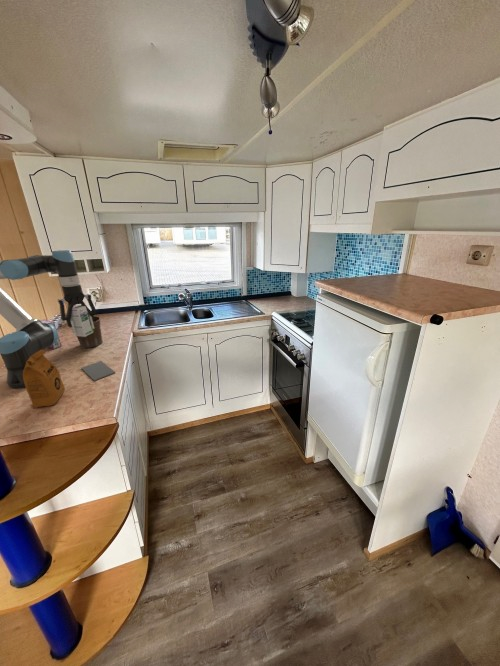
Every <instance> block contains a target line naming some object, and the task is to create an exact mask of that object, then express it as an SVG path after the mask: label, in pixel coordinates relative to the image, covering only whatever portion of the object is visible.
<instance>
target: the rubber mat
mask: <svg viewBox="0 0 500 666" xmlns="http://www.w3.org/2000/svg"><path fill="white" fill-rule="evenodd" d="M81 370H82V371H83V372H84V373H85V374H86V375H87V376H88V377H89V378H91V380H93V381H94V382H96V381H98V379H99V380H101V379H103V377H104V378H106V377H109V376H111V374H112V375H114V374H116V371H114V369H112V368H111V367H110V366H109V365H107V364H106V363H104V361H102V360H100V361H96V362H94V363H91V364H89V365H86V366H83V367H81ZM108 375H109V376H108ZM100 378H101V379H100Z"/></svg>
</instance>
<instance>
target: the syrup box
mask: <svg viewBox="0 0 500 666" xmlns="http://www.w3.org/2000/svg"><path fill="white" fill-rule="evenodd" d="M86 306H87V305H86ZM86 306H82V305H81V304H76V305H73V308H72V314H71V319H70V320H72V321H73V324H74V328H75V331H76V333H75V336H76V337H77V336H82V337H86V336H87V335H89V334H91V333H93V332H94V331H93V328H92V324H91V321H90V317H89V313H88V311H87V309H86Z"/></svg>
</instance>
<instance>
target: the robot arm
mask: <svg viewBox="0 0 500 666" xmlns="http://www.w3.org/2000/svg"><path fill="white" fill-rule="evenodd" d="M46 273H57V275H58V278H59V281H60V285H61V289H62V292H63V296H64V297H63V298H60V299H57V302H58V304H59V311H60V319H61V321H63V322H66V324H67V326H68V327H69V328H71V332H72V333H73V334H75V333H76V331H75V328H74V324H73V321H72V320H71V314H72V308H73V307H74V306H76V305H82V306H86V309H87V311H88V313H89V317H90V321H91V324H92V328H93V329H94V325H93V322H94V321H95V320H94V316H95V315H96V314H97V313H98V312H97V310H96V308H95V305H94V302H93V300H92V295H91V294H89V293H87V294H84V293H83V290H82V285H81V281H80V278H79V274H78V271H77V267H76V262H75V258H74V255H73V252H72V251H71V250H68V249H64V250H61V249H59V250H53V251H52V252H51V254H50V255H46V254H45V255H39V254H35V255H30V256H27V257H23V258H16V259H15V258H14V259H13V258H12V259H3V260H0V280H6V279H8V280H13V281H15V280H22V279H25V278H28V277H32V276H38V275H42V274H46ZM85 299H86V300H87V303H88V305H89V307H90V309H89V307H88V305H86V303H85V302H84V301H83V300H85ZM65 302H67V303H68V304H67V310H65ZM65 311H66V312H65ZM0 316H1V317H2V318H4V319H5V320H6V321H7V322H8V324H10V325H11V326H12V327H13V328H14V329H15V331H14V332H10V333H8V334H6V335H3V336H2V337H0V356H1V359H2V361H3V364H4V366H5V368H6V372H7V375H6V376H7V377H6V384H7V385H8V388H10V389H14V388H15V389H24V388H25V389H26V387H25V384H24V380H23V370H24V368H25V365H26V362H27V360H28V359H29V358H30V356H32V355H33V354H35V353H36V352H38V351H39V350H41V349H42V350H43V351H45V349H47V348H49V347H50V346H51V345H52V344H54V343H55V342H56V341H57V339H58V336H59V333H58V330H57V328H56V329H55V327H54V326H53V325H51V324H48V323H42V322H41V321H40V320H41V319H39V318H33V317H32V316H31V314H30V313H28V312H27V311H26V310H25V308H24V307H22V306H21V305H20V304H19V303H18V302H17V301H16V300H15V299H13V298H12V297H11V296H10V295H9V294H8V293H7V292H6V291H5V290H4V289H3V288H2V287H1V286H0ZM57 335H58V336H57ZM75 335H76V334H75Z"/></svg>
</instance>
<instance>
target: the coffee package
mask: <svg viewBox="0 0 500 666" xmlns="http://www.w3.org/2000/svg"><path fill="white" fill-rule="evenodd" d="M45 353H46V352H45V350H42V349H41V350H39V351H38V352H36V353H35V354H33V355H32V356H30V358H29V359H28V360H27V362H26V365H25V368H24V370H23V380H24V384H25V389H26V392H27V394H28V396H29V399H30V402H31V404H32V406H33V408H34V409H36V408H41V407H49V406H52V405H55V404H57V402H58V401H59V399H60V398H61V397H62V395H63V394H64V392H65V389H66V388H65V385H64V383H63V381H62V378H61V377H62V376H61V373H60V371H59V369H58V367H57V366H56V365H55V364H54V363H53V362H51V361H50V360H48V359H47V357H46V356H45V355H44V354H45Z"/></svg>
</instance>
